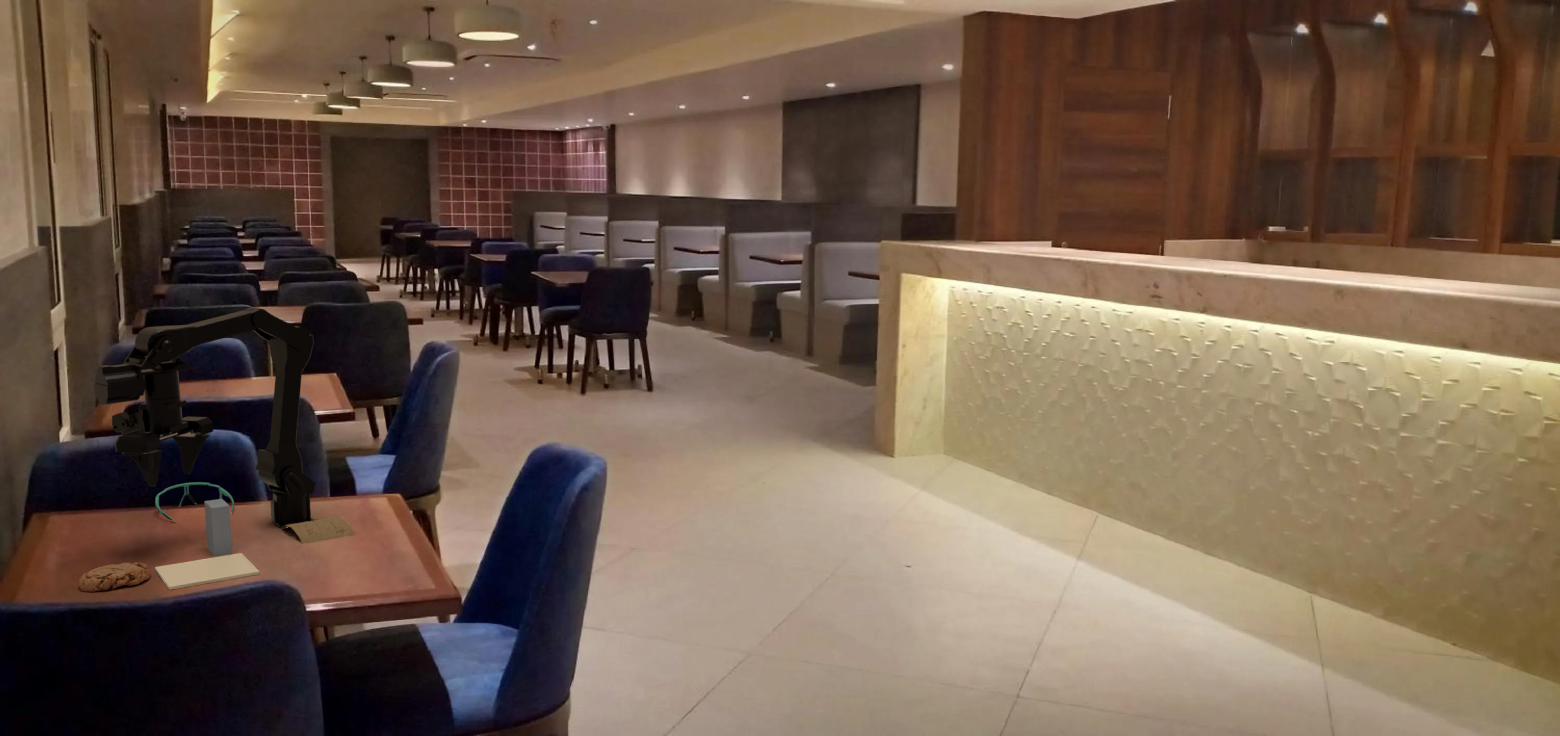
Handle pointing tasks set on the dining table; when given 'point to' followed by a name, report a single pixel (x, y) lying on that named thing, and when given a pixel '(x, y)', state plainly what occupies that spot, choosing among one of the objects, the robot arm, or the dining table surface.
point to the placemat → (206, 571)
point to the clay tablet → (322, 529)
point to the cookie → (114, 576)
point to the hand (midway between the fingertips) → (170, 480)
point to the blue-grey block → (218, 527)
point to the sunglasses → (190, 495)
